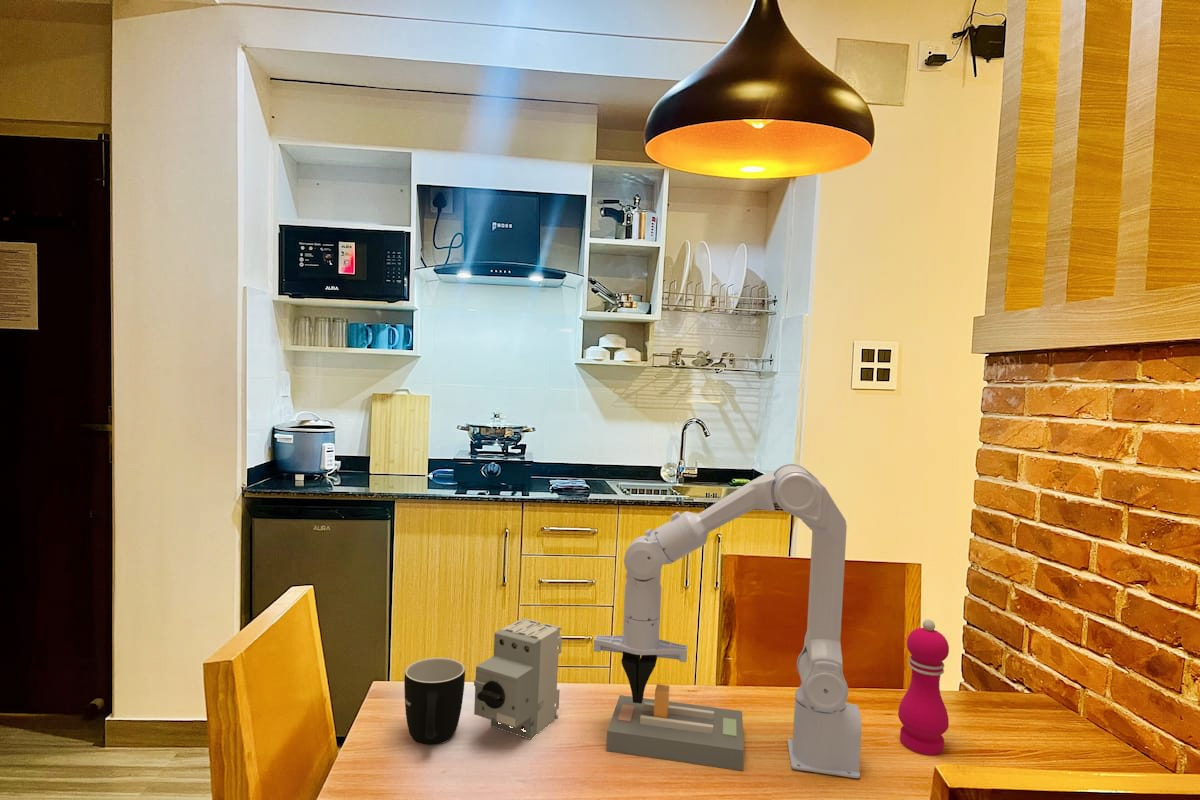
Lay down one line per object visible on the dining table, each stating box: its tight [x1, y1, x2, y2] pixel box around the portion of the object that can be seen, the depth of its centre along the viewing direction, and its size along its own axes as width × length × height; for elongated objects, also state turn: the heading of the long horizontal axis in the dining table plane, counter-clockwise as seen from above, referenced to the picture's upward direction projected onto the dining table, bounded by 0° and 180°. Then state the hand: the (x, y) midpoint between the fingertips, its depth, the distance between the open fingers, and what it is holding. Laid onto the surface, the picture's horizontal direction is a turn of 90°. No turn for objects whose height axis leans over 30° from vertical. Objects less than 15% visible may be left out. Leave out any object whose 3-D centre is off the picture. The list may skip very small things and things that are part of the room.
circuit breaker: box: [473, 617, 563, 740], centre depth 107 cm, size 8×14×15 cm, turn 152°
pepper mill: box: [897, 619, 950, 756], centre depth 108 cm, size 7×7×20 cm
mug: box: [403, 657, 466, 746], centre depth 103 cm, size 12×9×10 cm
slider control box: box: [605, 694, 745, 772], centre depth 106 cm, size 20×12×4 cm, turn 79°
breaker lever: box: [654, 683, 670, 719], centre depth 107 cm, size 2×3×4 cm
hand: (637, 700), depth 107 cm, fingers closed
